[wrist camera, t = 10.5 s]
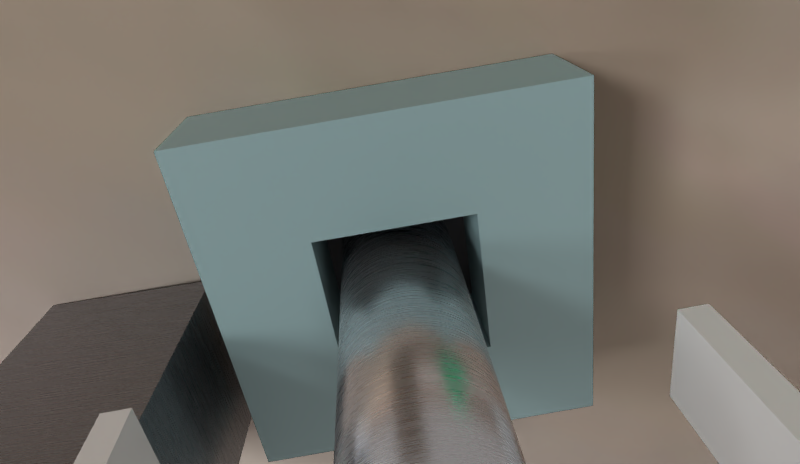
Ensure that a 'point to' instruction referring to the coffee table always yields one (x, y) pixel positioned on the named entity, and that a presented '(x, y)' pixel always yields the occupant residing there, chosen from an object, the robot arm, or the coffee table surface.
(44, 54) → the coffee table surface
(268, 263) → the socket plate
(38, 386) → the square bit
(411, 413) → the cylinder
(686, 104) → the coffee table surface
